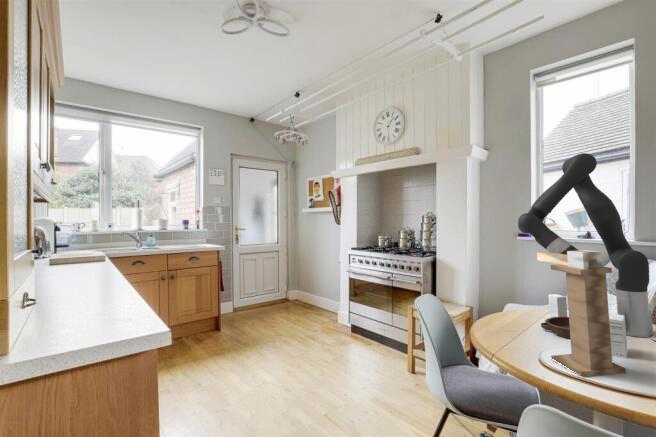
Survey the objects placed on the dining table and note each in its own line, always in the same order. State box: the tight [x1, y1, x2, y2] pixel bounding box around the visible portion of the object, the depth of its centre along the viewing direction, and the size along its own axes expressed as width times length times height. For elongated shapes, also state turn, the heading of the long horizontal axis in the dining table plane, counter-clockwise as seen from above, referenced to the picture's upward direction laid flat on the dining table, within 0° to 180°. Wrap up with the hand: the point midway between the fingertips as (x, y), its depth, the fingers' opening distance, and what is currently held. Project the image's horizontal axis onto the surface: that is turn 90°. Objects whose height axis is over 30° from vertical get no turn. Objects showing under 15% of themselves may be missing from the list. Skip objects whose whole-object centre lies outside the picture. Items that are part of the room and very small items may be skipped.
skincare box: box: [548, 293, 568, 318], centre depth 145 cm, size 6×4×12 cm
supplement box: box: [609, 313, 628, 359], centre depth 112 cm, size 7×7×13 cm
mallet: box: [536, 249, 603, 269], centre depth 109 cm, size 6×22×5 cm, turn 3°
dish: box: [540, 316, 570, 339], centre depth 130 cm, size 17×22×5 cm
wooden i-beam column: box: [550, 264, 626, 377], centre depth 103 cm, size 14×12×32 cm
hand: (603, 282), depth 118 cm, fingers open, 8 cm apart
